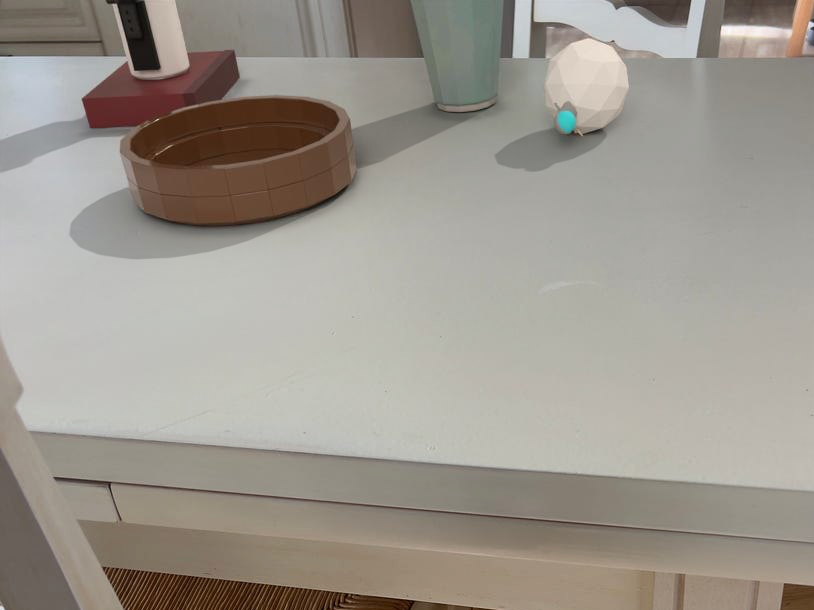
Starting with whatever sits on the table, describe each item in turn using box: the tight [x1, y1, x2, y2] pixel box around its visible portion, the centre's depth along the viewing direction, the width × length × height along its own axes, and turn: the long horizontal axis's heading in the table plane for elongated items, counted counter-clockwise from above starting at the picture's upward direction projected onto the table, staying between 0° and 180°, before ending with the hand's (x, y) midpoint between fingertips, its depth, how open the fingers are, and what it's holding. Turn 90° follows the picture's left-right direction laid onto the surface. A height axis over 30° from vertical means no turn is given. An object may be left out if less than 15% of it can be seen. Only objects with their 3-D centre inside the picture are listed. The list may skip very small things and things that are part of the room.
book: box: [81, 49, 241, 129], centre depth 113 cm, size 12×17×3 cm
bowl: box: [119, 94, 358, 227], centre depth 90 cm, size 20×20×5 cm
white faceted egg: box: [542, 37, 630, 137], centre depth 94 cm, size 8×8×12 cm
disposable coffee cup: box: [410, 0, 505, 113], centre depth 102 cm, size 11×11×15 cm
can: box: [111, 0, 189, 80], centre depth 109 cm, size 6×6×12 cm
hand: (157, 59), depth 112 cm, fingers closed on can, 6 cm apart
